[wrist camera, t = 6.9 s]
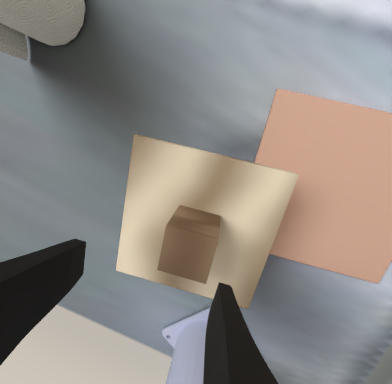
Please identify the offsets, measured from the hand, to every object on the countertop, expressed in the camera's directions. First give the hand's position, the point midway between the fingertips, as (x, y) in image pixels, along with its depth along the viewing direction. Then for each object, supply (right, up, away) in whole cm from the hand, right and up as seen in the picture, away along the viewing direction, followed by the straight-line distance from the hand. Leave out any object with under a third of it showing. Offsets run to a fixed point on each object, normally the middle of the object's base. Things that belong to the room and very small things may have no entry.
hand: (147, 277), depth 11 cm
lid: (+3, +2, +5) cm, 6 cm away
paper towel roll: (-10, +20, +7) cm, 23 cm away
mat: (+14, +4, +8) cm, 17 cm away
